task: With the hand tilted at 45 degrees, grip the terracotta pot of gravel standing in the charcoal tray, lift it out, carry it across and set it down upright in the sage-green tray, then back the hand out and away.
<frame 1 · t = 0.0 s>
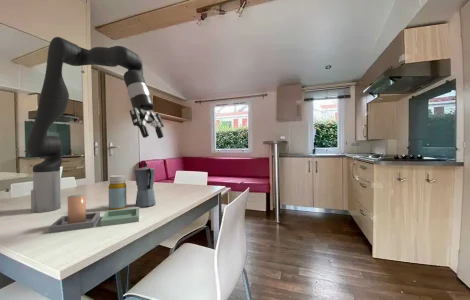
hand: (153, 137, 80), 31 cm above the table, tool tilted 20°, fingers open, 8 cm apart
moka pot: (146, 205, 102), on the table
gravel pot: (77, 224, 76), point 1 cm above the table, touching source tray
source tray: (77, 225, 76), on the table
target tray: (121, 220, 81), on the table
bottle: (117, 209, 97), on the table
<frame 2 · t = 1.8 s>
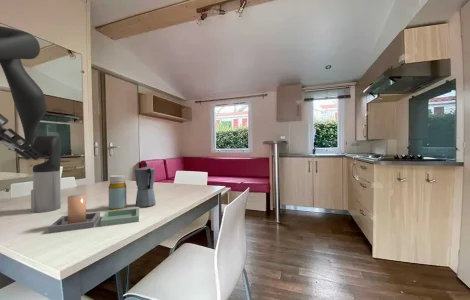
hand: (34, 157, 66), 25 cm above the table, tool tilted 45°, fingers open, 8 cm apart
nothing on the table moved.
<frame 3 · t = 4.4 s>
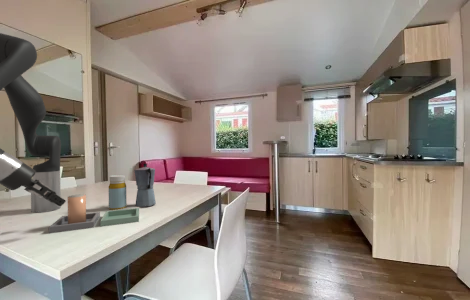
hand: (58, 201, 71), 10 cm above the table, tool tilted 45°, fingers open, 8 cm apart
nothing on the table moved.
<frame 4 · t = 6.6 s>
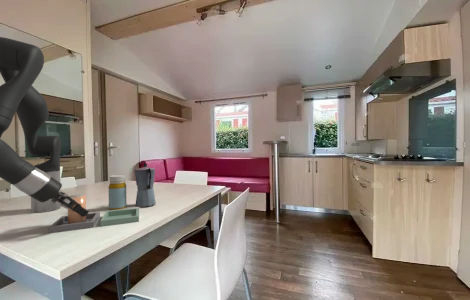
hand: (83, 212, 77), 4 cm above the table, tool tilted 45°, fingers closed on gravel pot, 5 cm apart
gravel pot: (77, 224, 76), point 1 cm above the table, touching gripper, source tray
everything else where it was.
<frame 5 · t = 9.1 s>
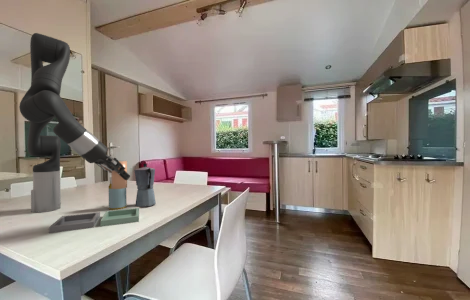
hand: (124, 177, 82), 16 cm above the table, tool tilted 45°, fingers closed on gravel pot, 5 cm apart
gravel pot: (119, 187, 81), point 13 cm above the table, touching gripper
everything else where it was.
when the fingers open (6 cm above the table, at t = 11.5 s): gravel pot drops 2 cm, resting on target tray.
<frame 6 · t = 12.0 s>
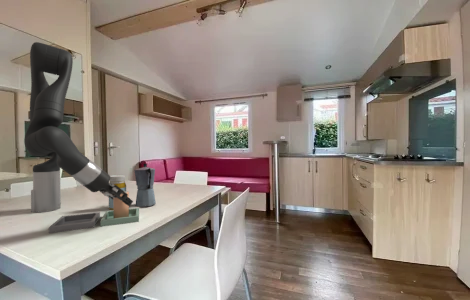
hand: (125, 202, 82), 7 cm above the table, tool tilted 45°, fingers open, 8 cm apart
gravel pot: (121, 218, 81), point 1 cm above the table, touching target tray
everything else where it was.
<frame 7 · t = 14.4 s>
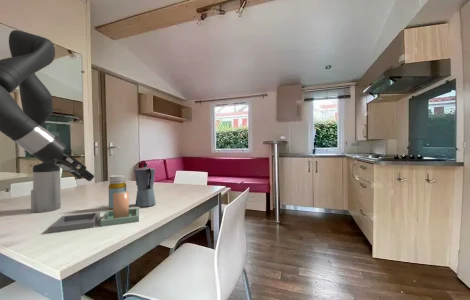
hand: (86, 177, 73), 17 cm above the table, tool tilted 45°, fingers open, 8 cm apart
nothing on the table moved.
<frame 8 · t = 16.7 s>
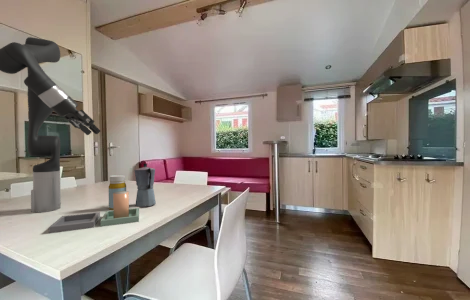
hand: (93, 133, 88), 34 cm above the table, tool tilted 45°, fingers open, 8 cm apart
nothing on the table moved.
at the end: gravel pot 0.1 cm off-centre on the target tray, point 0.6 cm above the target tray's base; gravel pot tilted 0°; the gripper is holding nothing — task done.
